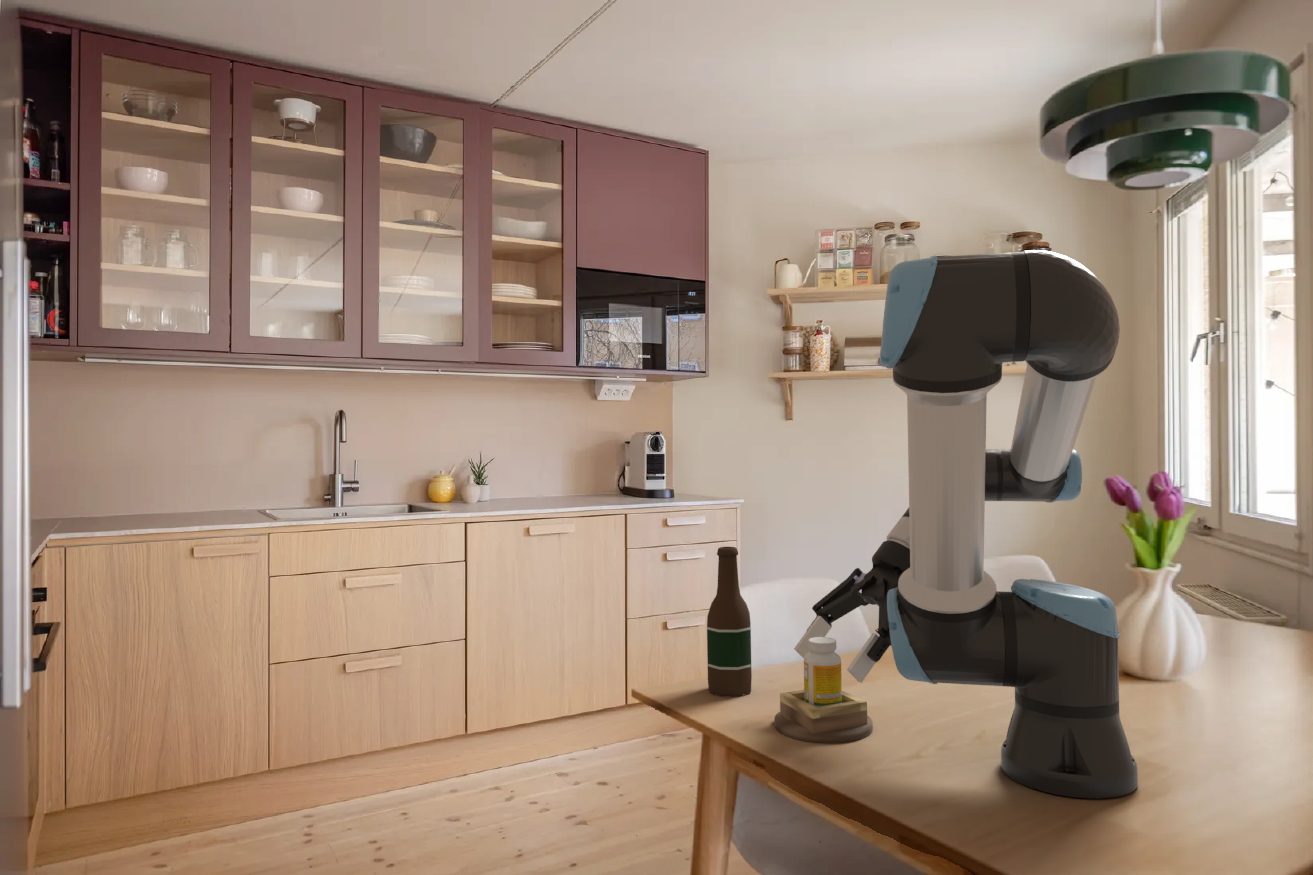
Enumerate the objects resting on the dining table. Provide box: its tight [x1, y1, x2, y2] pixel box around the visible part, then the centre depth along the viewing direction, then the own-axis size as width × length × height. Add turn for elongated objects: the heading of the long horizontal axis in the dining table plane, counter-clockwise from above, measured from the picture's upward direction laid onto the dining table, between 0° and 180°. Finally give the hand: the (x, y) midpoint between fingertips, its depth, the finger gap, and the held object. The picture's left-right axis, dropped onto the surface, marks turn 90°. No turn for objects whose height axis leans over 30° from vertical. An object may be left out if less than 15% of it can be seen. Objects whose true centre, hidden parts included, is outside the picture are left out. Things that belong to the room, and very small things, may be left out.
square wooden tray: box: [774, 689, 874, 744], centre depth 126 cm, size 14×14×4 cm
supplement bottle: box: [803, 636, 843, 707], centre depth 126 cm, size 5×5×10 cm
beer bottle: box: [706, 546, 753, 697], centre depth 145 cm, size 8×8×24 cm
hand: (825, 665), depth 126 cm, fingers open, 13 cm apart
